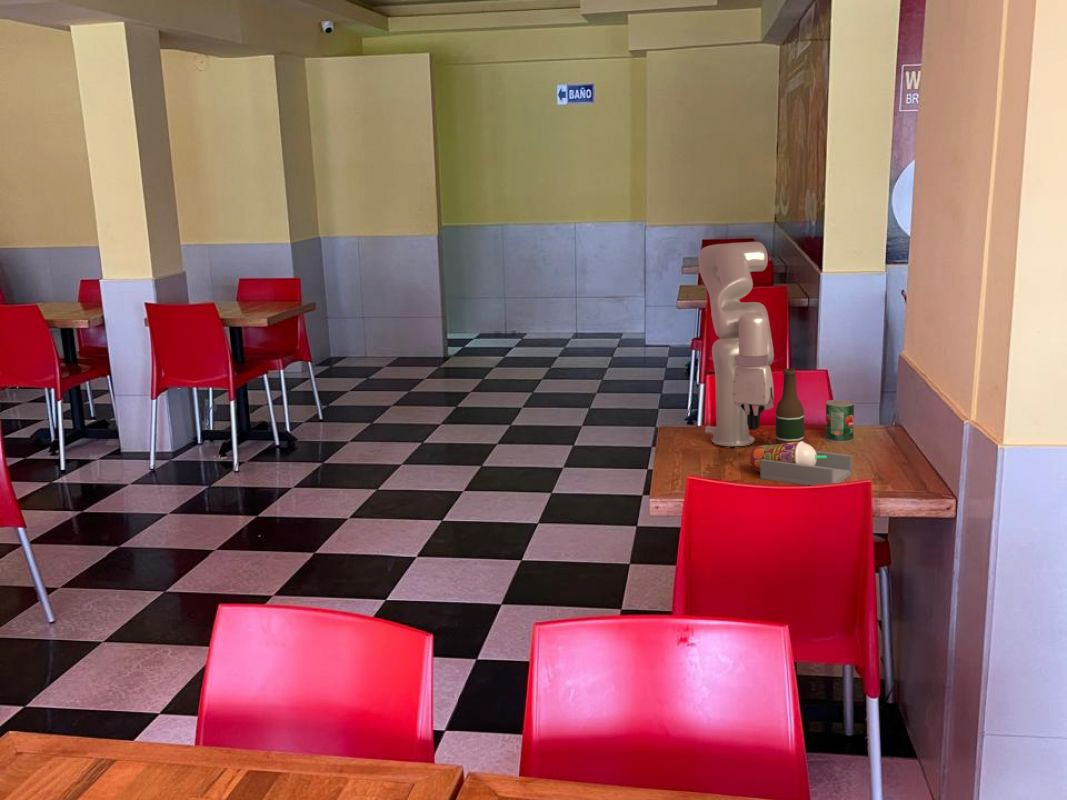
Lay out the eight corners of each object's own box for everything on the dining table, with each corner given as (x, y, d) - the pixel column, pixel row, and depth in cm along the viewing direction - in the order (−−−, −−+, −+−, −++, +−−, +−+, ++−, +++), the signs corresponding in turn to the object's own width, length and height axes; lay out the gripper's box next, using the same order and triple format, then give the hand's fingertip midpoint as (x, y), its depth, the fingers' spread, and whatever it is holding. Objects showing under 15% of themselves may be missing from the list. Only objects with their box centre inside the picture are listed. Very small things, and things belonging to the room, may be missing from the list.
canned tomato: (857, 441, 293) (857, 404, 290) (829, 443, 293) (830, 406, 290) (848, 434, 300) (849, 398, 298) (822, 436, 301) (822, 400, 298)
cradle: (760, 478, 263) (760, 460, 262) (782, 464, 274) (782, 446, 273) (831, 488, 252) (831, 469, 251) (851, 473, 263) (852, 455, 262)
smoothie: (749, 438, 268) (821, 435, 255) (763, 449, 274) (834, 447, 261) (745, 468, 265) (817, 466, 253) (759, 478, 271) (831, 477, 258)
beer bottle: (805, 449, 288) (805, 366, 282) (802, 457, 280) (803, 372, 275) (777, 448, 290) (776, 366, 285) (774, 455, 283) (773, 372, 278)
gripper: (720, 361, 267) (721, 429, 271) (773, 365, 258) (774, 435, 262) (733, 357, 273) (734, 423, 277) (785, 360, 264) (786, 428, 268)
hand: (753, 428), depth 269 cm, fingers closed
